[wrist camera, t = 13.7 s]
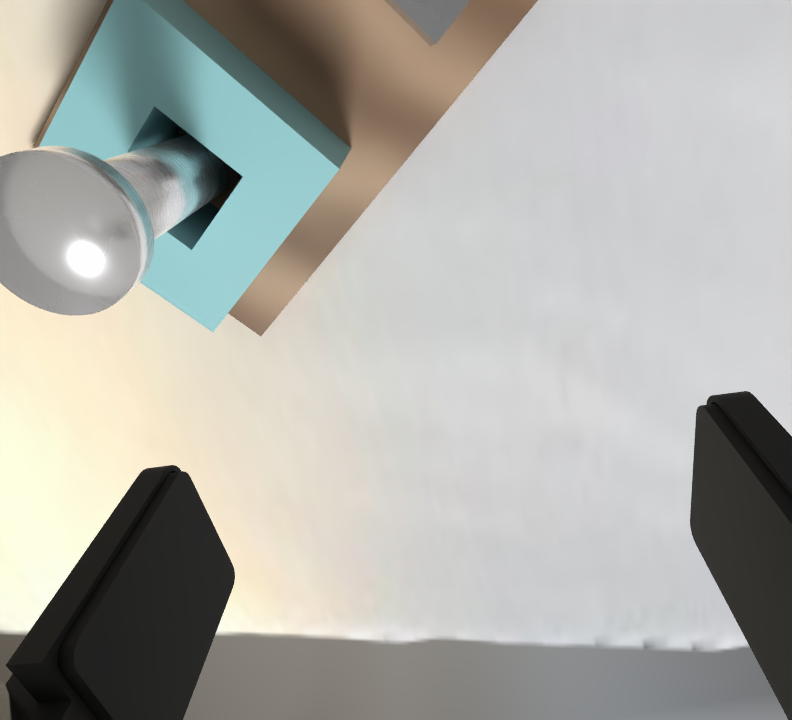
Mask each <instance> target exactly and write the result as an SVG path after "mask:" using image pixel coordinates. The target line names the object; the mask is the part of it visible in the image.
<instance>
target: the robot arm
mask: <svg viewBox="0 0 792 720" xmlns="http://www.w3.org/2000/svg"><path fill="white" fill-rule="evenodd" d="M690 525H691V531H692V535H693V538H694V541H695V543H696V545H697V547H698V549H699V551H700V553H701V555H702V557H703V558H704V560H705V562H706V564H707V566H708V568H709V570H710V572H711V574H712V575H713V577H714V579H715V581H716V583H717V585H718V587H719V589H720V591H721V593H722V594H723V596H724V598H725V600H726V602H727V604H728V606H729V608H730V610H731V612H732V613H733V615H734V617H735V619H736V621H737V623H738V625H739V627H740V629H741V630H742V632H743V634H744V636H745V638H746V640H747V642H748V644H749V646H750V648H751V649H752V651H753V653H754V655H755V657H756V659H757V661H758V662H759V665H760V667H761V668H762V670H763V672H764V674H765V676H766V678H767V680H768V682H769V684H770V685H771V687H772V689H773V691H774V693H775V695H776V697H777V699H778V701H779V703H780V704H781V706H782V708H783V710H784V712H785V714H786V716H787V718H788V720H792V436H791V435H790V434H789V433H788V432H787V431H786V430H785V429H784V428H783V427H782V426H781V424H780V423H779V422H778V421H777V420H776V419H775V418H774V417H773V416H772V415H771V414H770V413H769V411H768V410H767V409H766V408H765V407H764V406H763V405H762V404H761V403H760V402H759V401H758V400H757V398H756V397H755V396H754V395H753V394H751V393H750V392H747V391H744V392H736V393H728V394H721V395H713V396H710V397H709V398H708V400H707V405H703V406H699V407H698V409H697V413H696V428H695V446H694V463H693V480H692V498H691V515H690ZM234 580H235V572H234V567H233V565H232V563H231V560H230V558H229V556H228V554H227V552H226V550H225V548H224V546H223V544H222V542H221V540H220V538H219V536H218V534H217V531H216V529H215V527H214V525H213V523H212V521H211V519H210V517H209V515H208V513H207V511H206V509H205V507H204V505H203V502H202V500H201V498H200V496H199V494H198V492H197V490H196V488H195V486H194V484H193V482H192V480H191V478H190V476H189V474H188V473H186V472H183V471H181V470H180V468H178V467H177V466H174V465H170V466H163V467H155V468H147V469H145V470H143V471H142V472H141V473H140V474H139V476H138V477H137V478H136V480H135V481H134V483H133V484H132V486H131V487H130V488H129V490H128V491H127V493H126V494H125V496H124V497H123V498H122V500H121V501H120V503H119V504H118V506H117V507H116V508H115V510H114V511H113V513H112V514H111V516H110V517H109V518H108V520H107V521H106V523H105V524H104V526H103V527H102V528H101V530H100V531H99V533H98V534H97V536H96V537H95V538H94V540H93V541H92V543H91V544H90V546H89V547H88V548H87V550H86V551H85V553H84V554H83V556H82V557H81V558H80V560H79V561H78V563H77V564H76V566H75V567H74V569H73V570H72V571H71V573H70V574H69V576H68V577H67V579H66V580H65V581H64V583H63V584H62V586H61V587H60V589H59V590H58V591H57V593H56V594H55V596H54V597H53V599H52V600H51V601H50V603H49V604H48V606H47V607H46V609H45V610H44V611H43V613H42V614H41V616H40V617H39V619H38V620H37V621H36V623H35V624H34V626H33V627H32V629H31V630H30V631H29V633H28V634H27V636H26V637H25V639H24V640H23V641H22V643H21V644H20V646H19V647H18V649H17V650H16V652H15V653H14V654H13V656H12V657H11V659H10V660H9V662H8V663H7V664H6V666H7V667H8V669H9V670H10V671H11V672H12V673H13V674H12V676H11V677H10V679H9V680H8V682H7V683H6V685H5V684H3V683H1V682H0V720H183V718H184V715H185V712H186V710H187V707H188V705H189V702H190V699H191V697H192V694H193V691H194V689H195V686H196V683H197V681H198V678H199V675H200V673H201V670H202V667H203V665H204V662H205V659H206V657H207V654H208V652H209V649H210V646H211V644H212V641H213V638H214V636H215V633H216V631H217V628H218V625H219V623H220V620H221V617H222V615H223V612H224V609H225V607H226V604H227V601H228V599H229V596H230V593H231V591H232V588H233V585H234Z"/></svg>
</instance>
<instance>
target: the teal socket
mask: <svg viewBox="0 0 792 720" xmlns="http://www.w3.org/2000/svg"><path fill="white" fill-rule="evenodd" d="M182 128H183V129H184V130H185V131H186V132H188V133H189V134H190V135H191V136H193V137H194V138H195V139H196V140H198V141H199V142H200V143H201V144H203V145H204V146H205V147H206V148H208V149H209V150H210V151H211V152H213V153H214V154H215V155H216V156H218V157H219V158H220V159H221V160H223V161H224V162H225V163H226V164H228V165H229V166H230V167H231V168H233V169H234V170H235V171H236V172H238V173H239V174H240V175H241V176H243V178H242V179H241V180H240V182H239V183H238V185H237V186H236V188H235V189H234V190H233V192H232V193H231V195H230V196H229V198H228V199H227V201H226V202H225V203H224V205H223V206H222V208H221V209H220V210H219V209H218V208H217V207H216V206H214V205H213V204H212V203H210V202H208V203H207V204H205V205H204V206H202V207H201V208H200V209H198V210H197V211H195V212H194V213H192V214H191V215H190V216H188V217H187V218H185V219H184V220H182V221H181V222H180V223H178V224H177V225H175V226H174V227H172V228H171V229H169V230H168V231H167V232H165V233H164V234H162V235H161V236H159V237H158V238H157V239H155V240H154V254H153V259H152V262H151V265H150V268H149V270H148V272H147V273H146V275H145V277H144V278H143V279H142V281H141V283H142V284H144V285H145V286H146V287H148V288H149V289H151V290H152V291H154V292H155V293H157V294H158V295H160V296H161V297H162V298H164V299H165V300H167V301H168V302H170V303H171V304H173V305H174V306H176V307H177V308H178V309H180V310H181V311H183V312H184V313H186V314H187V315H189V316H190V317H192V318H193V319H194V320H196V321H197V322H199V323H200V324H202V325H203V326H205V327H206V328H208V329H209V330H210V331H212V332H214V331H215V329H216V328H217V327H218V325H219V324H220V323H221V322H222V320H223V319H224V318H225V316H226V315H227V314H228V312H229V311H230V310H231V309H232V307H233V306H234V305H235V303H236V302H237V301H238V300H239V298H240V297H241V296H242V294H243V293H244V292H245V290H246V289H247V288H248V287H249V285H250V284H251V283H252V281H253V280H254V279H255V278H256V276H257V275H258V274H259V272H260V271H261V270H262V269H263V267H264V266H265V265H266V263H267V262H268V261H269V259H270V258H271V257H272V256H273V254H274V253H275V252H276V250H277V249H278V248H279V247H280V245H281V244H282V243H283V241H284V240H285V239H286V238H287V236H288V235H289V234H290V232H291V231H292V230H293V228H294V227H295V226H296V225H297V223H298V222H299V221H300V219H301V218H302V217H303V216H304V214H305V213H306V212H307V210H308V209H309V208H310V207H311V205H312V204H313V203H314V201H315V200H316V199H317V197H318V196H319V195H320V194H321V192H322V191H323V190H324V188H325V187H326V186H327V185H328V183H329V182H330V181H331V179H332V178H333V177H334V176H335V174H336V173H337V172H338V170H339V169H340V167H341V166H342V164H343V162H344V160H345V159H346V157H347V155H348V154H349V152H350V150H351V147H349V146H348V145H347V144H346V143H345V142H344V141H343V140H341V139H340V138H339V137H338V136H337V135H336V134H335V133H333V132H332V131H331V130H330V129H329V128H328V127H327V126H326V125H324V124H323V123H322V122H321V121H320V120H319V119H318V118H316V117H315V116H314V115H313V114H312V113H311V112H310V111H308V110H307V109H306V108H305V107H304V106H303V105H302V104H300V103H299V102H298V101H297V100H296V99H295V98H294V97H293V96H291V95H290V94H289V93H288V92H287V91H286V90H285V89H283V88H282V87H281V86H280V85H279V84H278V83H277V82H275V81H274V80H273V79H272V78H271V77H270V76H269V75H267V74H266V73H265V72H264V71H263V70H262V69H261V68H260V67H258V66H257V65H256V64H255V63H254V62H253V61H252V60H250V59H249V58H248V57H247V56H246V55H245V54H244V53H242V52H241V51H240V50H239V49H238V48H237V47H236V46H234V45H233V44H232V43H231V42H230V41H229V40H228V39H227V38H225V37H224V36H223V35H222V34H221V33H220V32H219V31H217V30H216V29H215V28H214V27H213V26H212V25H211V24H209V23H208V22H207V21H206V20H205V19H204V18H203V17H201V16H200V15H199V14H198V13H197V12H196V11H195V10H194V9H192V8H191V7H190V6H189V5H188V4H187V3H186V2H184V1H183V0H114V1H113V3H112V5H111V7H110V9H109V11H108V12H107V14H106V16H105V18H104V20H103V22H102V24H101V26H100V28H99V30H98V32H97V34H96V36H95V38H94V40H93V42H92V44H91V46H90V48H89V50H88V51H87V53H86V55H85V57H84V59H83V61H82V63H81V65H80V67H79V69H78V71H77V73H76V75H75V77H74V79H73V81H72V83H71V85H70V87H69V89H68V90H67V92H66V94H65V96H64V98H63V100H62V102H61V104H60V106H59V108H58V110H57V112H56V114H55V116H54V118H53V120H52V122H51V124H50V126H49V127H48V129H47V131H46V133H45V135H44V137H43V139H42V141H41V143H40V145H39V147H43V146H64V147H71V148H75V149H78V150H82V151H84V152H87V153H89V154H92V155H94V156H96V157H98V158H99V159H101V160H106V159H109V158H112V157H115V156H119V155H122V154H125V153H128V152H131V151H135V150H138V149H141V148H144V147H147V146H150V145H154V144H157V143H160V142H163V141H166V140H170V139H173V138H176V137H177V136H178V135H179V133H180V131H181V130H182Z"/></svg>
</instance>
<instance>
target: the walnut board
mask: <svg viewBox="0 0 792 720" xmlns="http://www.w3.org/2000/svg"><path fill="white" fill-rule="evenodd" d="M113 1H114V0H108V2H107V4H106V6H105V8H104V9H103V11H102V13H101V15H100V17H99V19H98V21H97V23H96V25H95V27H94V29H93V31H92V33H91V35H90V37H89V39H88V41H87V43H86V45H85V47H84V49H83V51H82V53H81V55H80V57H79V59H78V61H77V63H76V65H75V66H74V68H73V70H72V72H71V74H70V76H69V78H68V80H67V82H66V84H65V86H64V88H63V90H62V92H61V94H60V96H59V98H58V100H57V102H56V104H55V106H54V108H53V110H52V112H51V114H50V116H49V118H48V120H47V121H46V123H45V125H44V127H43V129H42V131H41V133H40V135H39V137H38V139H37V141H36V143H35V145H34V147H33V148H37V147H39V145H40V143H41V141H42V139H43V137H44V135H45V133H46V131H47V129H48V127H49V126H50V124H51V122H52V120H53V118H54V116H55V114H56V112H57V110H58V108H59V106H60V104H61V102H62V100H63V98H64V96H65V94H66V92H67V90H68V89H69V87H70V85H71V83H72V81H73V79H74V77H75V75H76V73H77V71H78V69H79V67H80V65H81V63H82V61H83V59H84V57H85V55H86V53H87V51H88V50H89V48H90V46H91V44H92V42H93V40H94V38H95V36H96V34H97V32H98V30H99V28H100V26H101V24H102V22H103V20H104V18H105V16H106V14H107V12H108V11H109V9H110V7H111V5H112V3H113ZM183 1H184V2H186V3H187V4H188V5H189V6H190V7H191V8H192V9H194V10H195V11H196V12H197V13H198V14H199V15H200V16H201V17H203V18H204V19H205V20H206V21H207V22H208V23H209V24H211V25H212V26H213V27H214V28H215V29H216V30H217V31H219V32H220V33H221V34H222V35H223V36H224V37H225V38H227V39H228V40H229V41H230V42H231V43H232V44H233V45H234V46H236V47H237V48H238V49H239V50H240V51H241V52H242V53H244V54H245V55H246V56H247V57H248V58H249V59H250V60H252V61H253V62H254V63H255V64H256V65H257V66H258V67H260V68H261V69H262V70H263V71H264V72H265V73H266V74H267V75H269V76H270V77H271V78H272V79H273V80H274V81H275V82H277V83H278V84H279V85H280V86H281V87H282V88H283V89H285V90H286V91H287V92H288V93H289V94H290V95H291V96H293V97H294V98H295V99H296V100H297V101H298V102H299V103H300V104H302V105H303V106H304V107H305V108H306V109H307V110H308V111H310V112H311V113H312V114H313V115H314V116H315V117H316V118H318V119H319V120H320V121H321V122H322V123H323V124H324V125H326V126H327V127H328V128H329V129H330V130H331V131H332V132H333V133H335V134H336V135H337V136H338V137H339V138H340V139H341V140H343V141H344V142H345V143H346V144H347V145H348V146H349V147H351V150H350V152H349V154H348V155H347V157H346V159H345V160H344V162H343V164H342V166H341V167H340V169H339V170H338V172H337V173H336V174H335V176H334V177H333V178H332V179H331V181H330V182H329V183H328V185H327V186H326V187H325V188H324V190H323V191H322V192H321V194H320V195H319V196H318V197H317V199H316V200H315V201H314V203H313V204H312V205H311V207H310V208H309V209H308V210H307V212H306V213H305V214H304V216H303V217H302V218H301V219H300V221H299V222H298V223H297V225H296V226H295V227H294V228H293V230H292V231H291V232H290V234H289V235H288V236H287V238H286V239H285V240H284V241H283V243H282V244H281V245H280V247H279V248H278V249H277V250H276V252H275V253H274V254H273V256H272V257H271V258H270V259H269V261H268V262H267V263H266V265H265V266H264V267H263V269H262V270H261V271H260V272H259V274H258V275H257V276H256V278H255V279H254V280H253V281H252V283H251V284H250V285H249V287H248V288H247V289H246V290H245V292H244V293H243V294H242V296H241V297H240V298H239V300H238V301H237V302H236V303H235V305H234V306H233V307H232V309H231V310H230V311H229V312H228V313H229V314H230V315H231V316H233V317H234V318H236V319H237V320H239V321H240V322H241V323H243V324H244V325H246V326H247V327H248V328H250V329H251V330H253V331H254V332H256V333H257V334H258V335H260V336H262V334H263V333H264V332H265V331H266V330H267V328H268V327H269V326H270V325H271V324H272V322H273V321H274V320H275V319H276V317H277V316H278V315H279V314H280V313H281V311H282V310H283V309H284V308H285V307H286V305H287V304H288V303H289V302H290V300H291V299H292V298H293V297H294V296H295V294H296V293H297V292H298V291H299V290H300V288H301V287H302V286H303V285H304V283H305V282H306V281H307V280H308V279H309V277H310V276H311V275H312V274H313V273H314V271H315V270H316V269H317V268H318V266H319V265H320V264H321V263H322V262H323V260H324V259H325V258H326V257H327V256H328V254H329V253H330V252H331V251H332V249H333V248H334V247H335V246H336V245H337V243H338V242H339V241H340V240H341V239H342V237H343V236H344V235H345V234H346V232H347V231H348V230H349V229H350V228H351V226H352V225H353V224H354V223H355V222H356V220H357V219H358V218H359V217H360V215H361V214H362V213H363V212H364V211H365V209H366V208H367V207H368V206H369V205H370V203H371V202H372V201H373V200H374V198H375V197H376V196H377V195H378V194H379V192H380V191H381V190H382V189H383V188H384V186H385V185H386V184H387V183H388V181H389V180H390V179H391V178H392V177H393V175H394V174H395V173H396V172H397V171H398V169H399V168H400V167H401V166H402V164H403V163H404V162H405V161H406V160H407V158H408V157H409V156H410V155H411V154H412V152H413V151H414V150H415V149H416V147H417V146H418V145H419V144H420V143H421V141H422V140H423V139H424V138H425V137H426V135H427V134H428V133H429V132H430V130H431V129H432V128H433V127H434V126H435V124H436V123H437V122H438V121H439V120H440V118H441V117H442V116H443V115H444V113H445V112H446V111H447V110H448V109H449V107H450V106H451V105H452V104H453V103H454V101H455V100H456V99H457V98H458V96H459V95H460V94H461V93H462V92H463V90H464V89H465V88H466V87H467V86H468V84H469V83H470V82H471V81H472V79H473V78H474V77H475V76H476V75H477V73H478V72H479V71H480V70H481V69H482V67H483V66H484V65H485V64H486V63H487V61H488V60H489V59H490V58H491V56H492V55H493V54H494V53H495V52H496V50H497V49H498V48H499V47H500V46H501V44H502V43H503V42H504V41H505V39H506V38H507V37H508V36H509V35H510V33H511V32H512V31H513V30H514V29H515V27H516V26H517V25H518V24H519V22H520V21H521V20H522V19H523V18H524V16H525V15H526V14H527V13H528V12H529V10H530V9H531V8H532V7H533V5H534V4H535V3H536V2H537V1H538V0H470V1H469V2H468V4H467V5H466V6H465V8H464V9H463V10H462V11H461V13H460V14H459V15H458V17H457V18H456V19H455V21H454V22H453V23H452V24H451V26H450V27H449V28H448V30H447V31H446V32H445V33H444V35H443V36H442V37H441V39H440V40H439V41H438V42H437V44H435V45H432V46H429V45H428V44H427V43H426V42H425V41H424V39H423V38H422V37H421V36H420V35H419V34H418V33H417V32H416V31H415V30H414V29H413V28H412V27H411V26H410V25H409V24H408V23H407V22H406V21H405V20H404V19H403V18H402V17H401V16H400V15H399V14H398V13H397V12H396V11H395V10H394V9H393V8H392V7H391V6H390V5H389V4H388V3H387V2H386V1H385V0H183ZM185 134H189V133H188V132H186V131H185V130H184V129H183V128H182V130H181V131H180V133H179V135H178V136H177V137H179V136H182V135H185ZM242 178H243V176H241V178H240V179H239V181H238V182H237V183H235V184H234V185H233V186H231V187H230V188H228V189H227V190H225V191H224V192H223V193H221V194H220V195H218V196H217V197H215V198H214V199H212V200H211V201H210V203H212V204H213V205H214V206H216V207H217V208H218V209H219V210H220V209H221V208H222V206H223V205H224V203H225V202H226V201H227V199H228V198H229V196H230V195H231V193H232V192H233V190H234V189H235V188H236V186H237V185H238V183H239V182H240V180H241V179H242Z"/></svg>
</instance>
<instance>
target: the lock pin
mask: <svg viewBox="0 0 792 720" xmlns="http://www.w3.org/2000/svg"><path fill="white" fill-rule="evenodd" d="M240 178H241V175H240V174H239V173H238V172H236V171H235V170H234V169H233V168H231V167H230V166H229V165H228V164H226V163H225V162H224V161H223V160H221V159H220V158H219V157H218V156H216V155H215V154H214V153H213V152H211V151H210V150H209V149H208V148H206V147H205V146H204V145H203V144H201V143H200V142H199V141H198V140H196V139H195V138H194V137H193V136H191V135H190V134H185V135H182V136H179V137H176V138H173V139H170V140H166V141H163V142H160V143H157V144H154V145H150V146H147V147H144V148H141V149H138V150H135V151H131V152H128V153H125V154H122V155H119V156H115V157H112V158H109V159H106V160H101V159H99V158H98V157H96V156H94V155H92V154H89V153H87V152H84V151H82V150H78V149H75V148H71V147H64V146H43V147H37V148H33V149H28V150H24V151H19V152H15V153H10V154H7V155H4V156H1V157H0V283H1V284H2V285H4V286H5V287H6V288H7V289H8V290H9V291H11V292H12V293H14V294H15V295H16V296H18V297H19V298H21V299H23V300H24V301H26V302H28V303H29V304H32V305H34V306H36V307H38V308H41V309H44V310H47V311H49V312H53V313H58V314H64V315H87V314H93V313H96V312H100V311H102V310H104V309H107V308H109V307H110V306H112V305H113V304H115V303H116V302H118V301H119V300H120V299H121V298H122V297H124V296H125V295H126V294H127V293H129V292H130V291H131V290H132V289H133V288H134V287H136V286H137V285H138V284H139V283H140V282H141V281H142V279H143V278H144V277H145V275H146V273H147V272H148V270H149V268H150V265H151V262H152V259H153V254H154V240H155V239H157V238H158V237H159V236H161V235H162V234H164V233H165V232H167V231H168V230H169V229H171V228H172V227H174V226H175V225H177V224H178V223H180V222H181V221H182V220H184V219H185V218H187V217H188V216H190V215H191V214H192V213H194V212H195V211H197V210H198V209H200V208H201V207H202V206H204V205H205V204H207V203H208V202H210V201H211V200H212V199H214V198H215V197H217V196H218V195H220V194H221V193H223V192H224V191H225V190H227V189H228V188H230V187H231V186H233V185H234V184H235V183H237V182H238V181H239V179H240Z"/></svg>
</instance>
